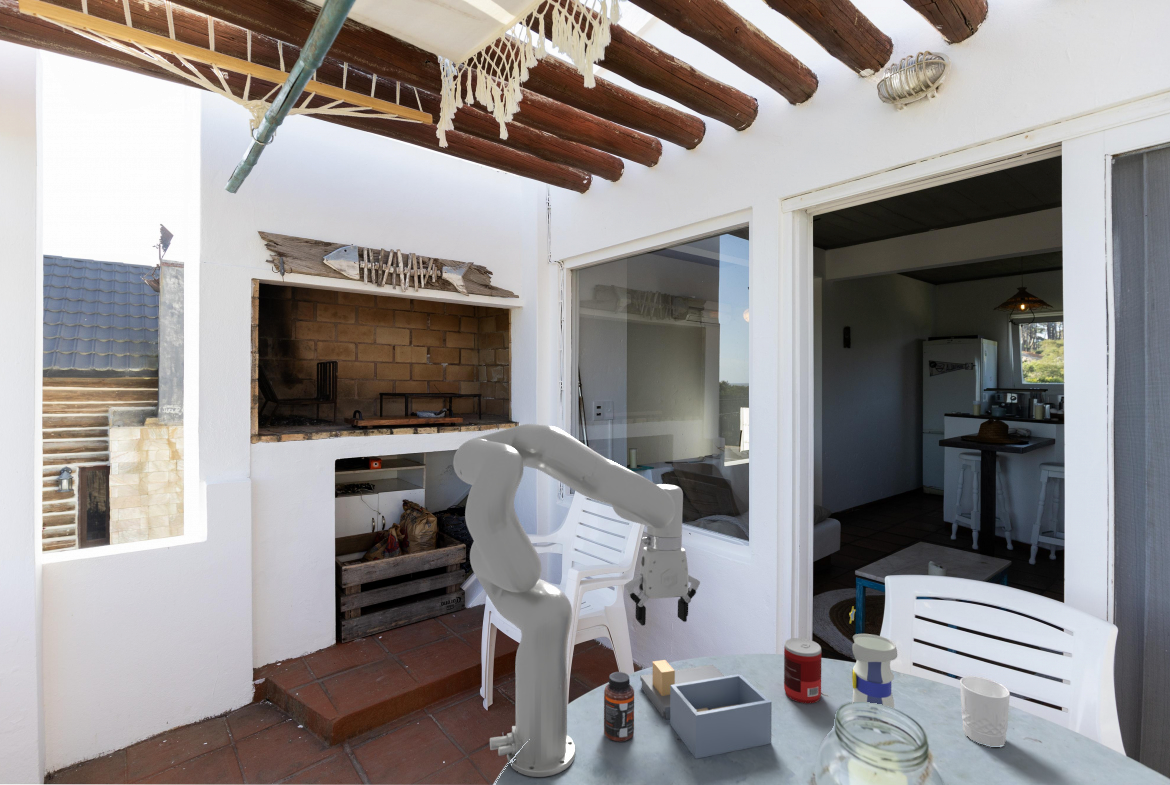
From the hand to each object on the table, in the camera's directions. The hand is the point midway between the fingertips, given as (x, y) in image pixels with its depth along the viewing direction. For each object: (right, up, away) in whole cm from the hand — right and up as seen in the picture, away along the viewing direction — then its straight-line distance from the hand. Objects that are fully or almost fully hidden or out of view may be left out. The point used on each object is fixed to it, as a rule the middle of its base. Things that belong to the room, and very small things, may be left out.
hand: (661, 621), depth 122 cm
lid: (+7, -17, +2) cm, 19 cm away
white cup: (+61, -18, -12) cm, 65 cm away
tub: (+10, -18, -11) cm, 23 cm away
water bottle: (+39, -18, -14) cm, 45 cm away
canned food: (+32, -18, +3) cm, 36 cm away
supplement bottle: (-10, -18, -11) cm, 23 cm away
